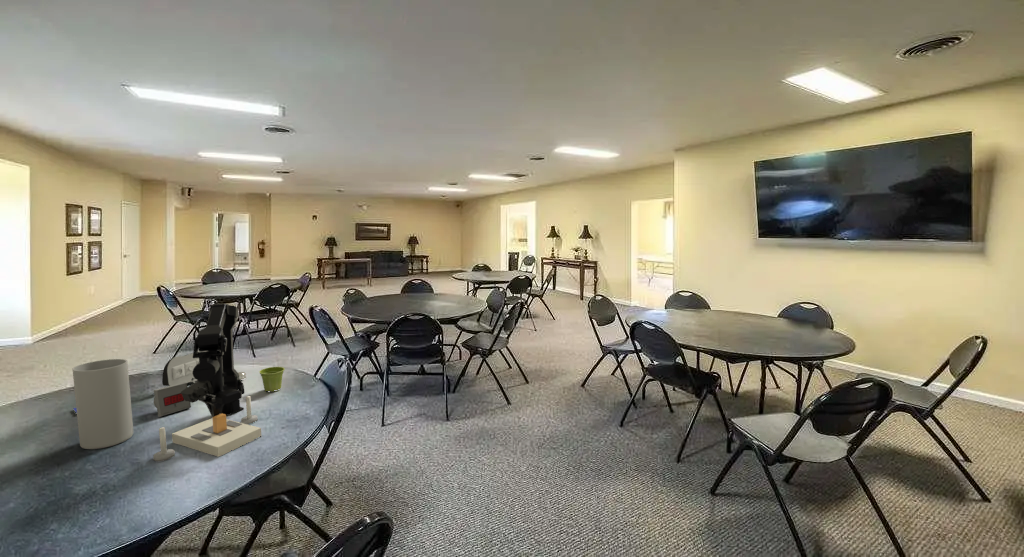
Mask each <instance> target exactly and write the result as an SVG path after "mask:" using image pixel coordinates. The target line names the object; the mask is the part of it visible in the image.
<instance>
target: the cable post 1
mask: <svg viewBox="0 0 1024 557" xmlns="http://www.w3.org/2000/svg"><path fill="white" fill-rule="evenodd" d="M158 434H159V444H160V445H159V446H160V447H159V448H160V451H158V452H156V453H154V454H153V456H152V458H153V459H152V460H153V461H154V462H164V461H165V462H166V461H168V460H171V459H173V458H174V457H175V456H176V452H175V449H172V448H170V449H169V448H167V437H166V427H165V426H163V427H160V428H159V429H158Z"/></svg>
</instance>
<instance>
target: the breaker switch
mask: <svg viewBox="0 0 1024 557" xmlns="http://www.w3.org/2000/svg"><path fill="white" fill-rule="evenodd" d="M211 418H213V432H215V433H219V432H222V431H224V430H227V423H226V419H227V415H226V414H219V415H216V416H214V417H212V416H211Z"/></svg>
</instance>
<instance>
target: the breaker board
mask: <svg viewBox="0 0 1024 557" xmlns="http://www.w3.org/2000/svg"><path fill="white" fill-rule="evenodd" d="M226 423H227V430H224V431H222V432H219V433H215V432H213V418H212V417H211V418H210V419H206V420H204V421H201V422H199V423H196V424H194V425H191V426H188V427H185V428H182V429H180V430H177V431H176V432H173V433H171V439H172V443H173V444H176V445H179V446H183V447H186V448H189V449H192V450H196V451H199V452H201V453H205V454H208V455H211V456H215V457H217V458H218V457H222V456H223V455H225V454H228V453H229V452H232V451H235V450H236V449H238V448H240V446H241V447H243V446H245V445H247V444H248V442H249V443H252V442H254V441H255V440H254V439H256V438H258V437H260V436H261V437H262V427H258V426H254V425H252V424H244V423H241V421H240V422H239V421H235V420H231V419H228V418H226ZM261 437H260V438H261ZM258 439H259V438H258ZM256 440H257V439H256ZM246 443H247V444H246ZM242 445H243V446H242ZM231 450H232V451H231Z"/></svg>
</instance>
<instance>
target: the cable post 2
mask: <svg viewBox="0 0 1024 557" xmlns="http://www.w3.org/2000/svg"><path fill="white" fill-rule="evenodd" d="M251 397H252V396H250V395H248V396H247V395H246V396H245V404H246V416H243V417H242V418H241V419H240V423H244V424H247V425H250V424H249V423H252V424H254V423H256V422H258V415H255V414H252V402H251V401H252V400H251V399H252V398H251ZM255 421H256V422H255ZM253 422H254V423H253Z"/></svg>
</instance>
